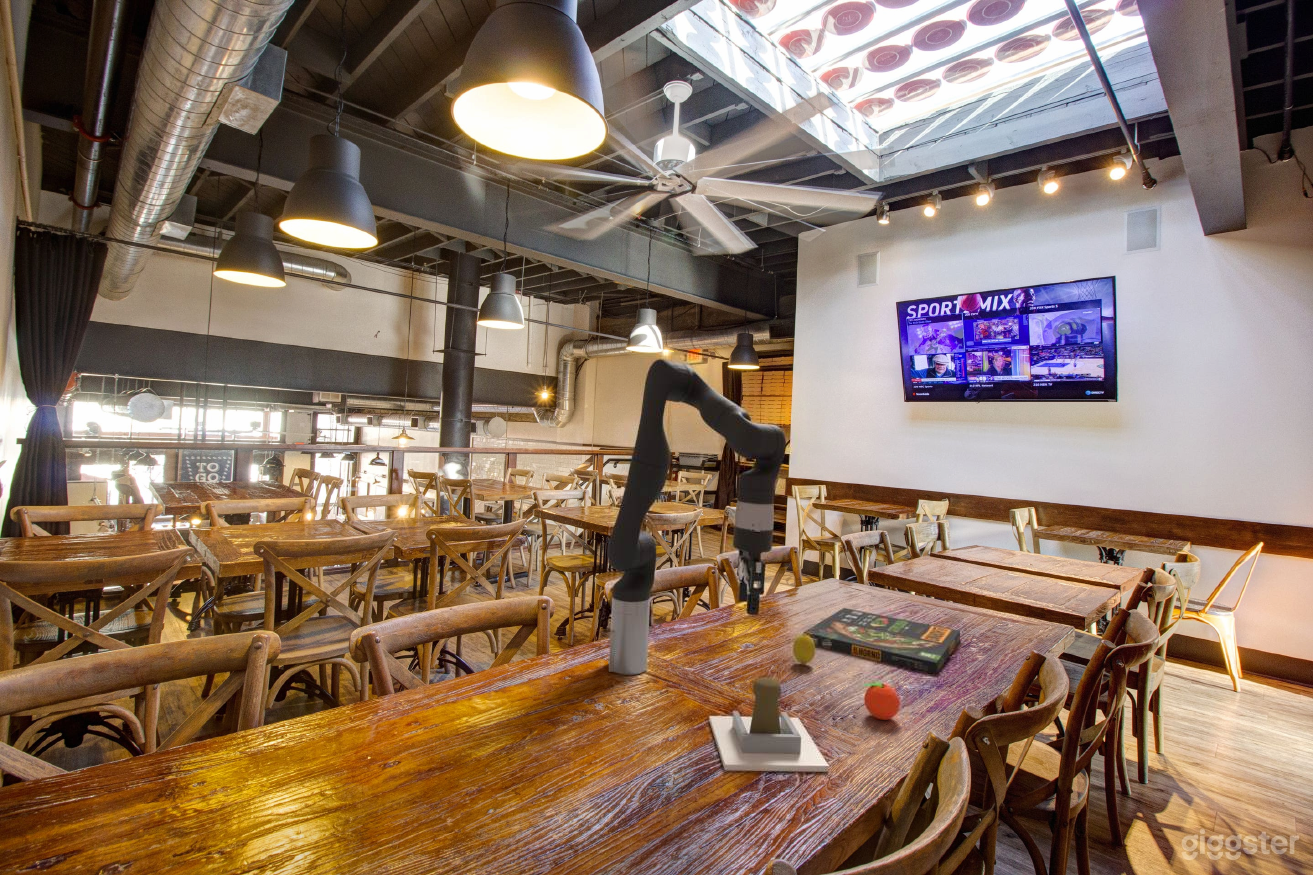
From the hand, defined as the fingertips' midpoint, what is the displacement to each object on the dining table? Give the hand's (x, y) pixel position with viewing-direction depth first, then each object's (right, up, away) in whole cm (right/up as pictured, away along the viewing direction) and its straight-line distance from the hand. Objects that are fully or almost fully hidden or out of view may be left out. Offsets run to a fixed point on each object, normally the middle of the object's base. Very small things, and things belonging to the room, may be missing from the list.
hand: (747, 607), depth 117 cm
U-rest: (+2, -24, -6) cm, 25 cm away
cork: (+2, -23, -6) cm, 24 cm away
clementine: (+28, -25, +7) cm, 39 cm away
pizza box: (+48, -27, +58) cm, 80 cm away
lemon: (+20, -25, +36) cm, 48 cm away
